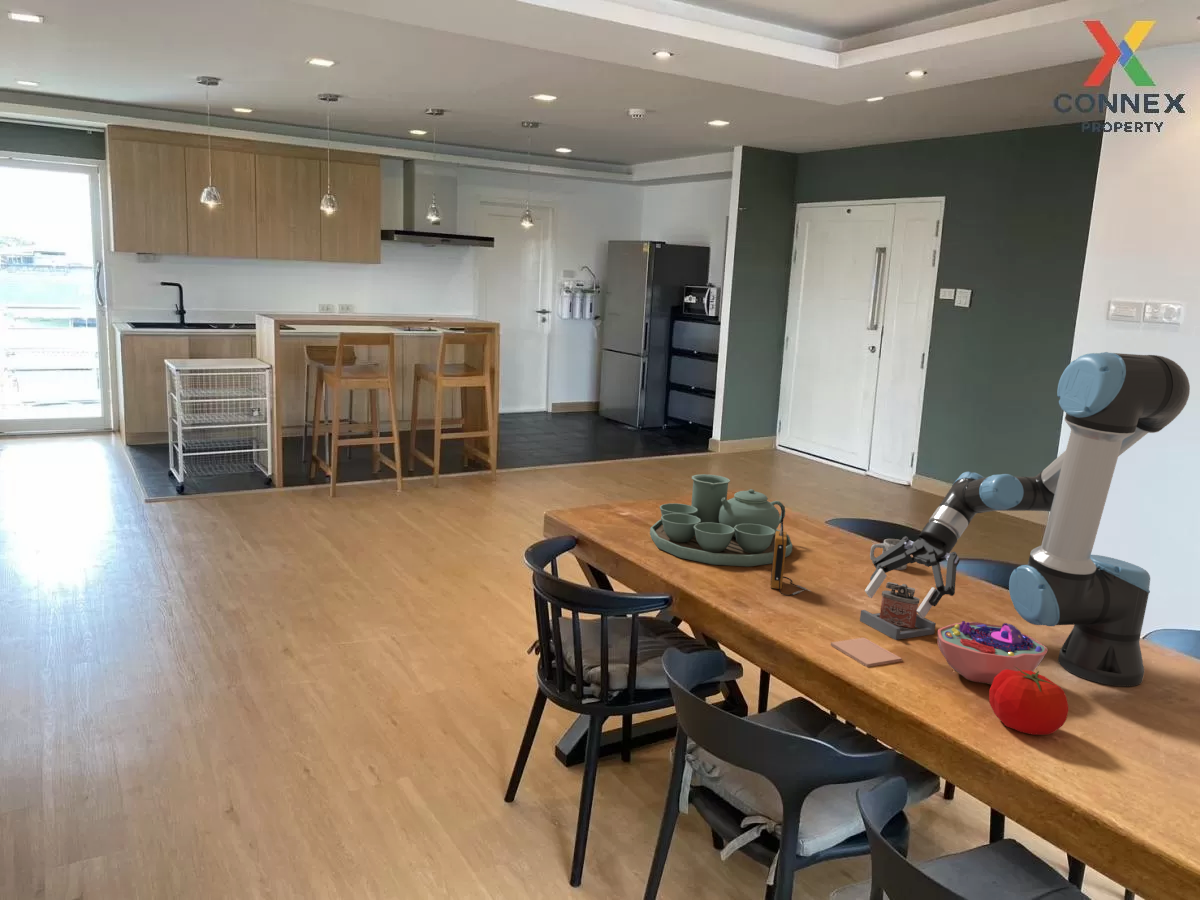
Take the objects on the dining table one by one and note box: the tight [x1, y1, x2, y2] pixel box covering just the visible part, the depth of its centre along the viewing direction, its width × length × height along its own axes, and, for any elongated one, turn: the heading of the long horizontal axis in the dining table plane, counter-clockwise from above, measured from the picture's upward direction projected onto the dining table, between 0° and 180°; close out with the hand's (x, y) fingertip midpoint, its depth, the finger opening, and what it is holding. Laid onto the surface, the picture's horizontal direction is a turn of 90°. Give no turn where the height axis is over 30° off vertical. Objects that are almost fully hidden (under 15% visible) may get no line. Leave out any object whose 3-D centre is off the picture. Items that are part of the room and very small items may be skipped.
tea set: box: [649, 474, 793, 567], centre depth 249 cm, size 40×40×16 cm
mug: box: [869, 538, 908, 571], centre depth 240 cm, size 10×7×7 cm, turn 84°
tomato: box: [988, 666, 1069, 736], centre depth 152 cm, size 11×13×10 cm
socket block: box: [859, 609, 937, 641], centre depth 196 cm, size 11×11×2 cm
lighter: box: [879, 581, 920, 632], centre depth 195 cm, size 8×3×10 cm, turn 58°
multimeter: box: [770, 504, 811, 597], centre depth 217 cm, size 15×10×20 cm
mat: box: [830, 637, 903, 668], centre depth 181 cm, size 11×9×1 cm
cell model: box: [937, 620, 1048, 685], centre depth 171 cm, size 17×20×11 cm
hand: (893, 604), depth 194 cm, fingers open, 13 cm apart
